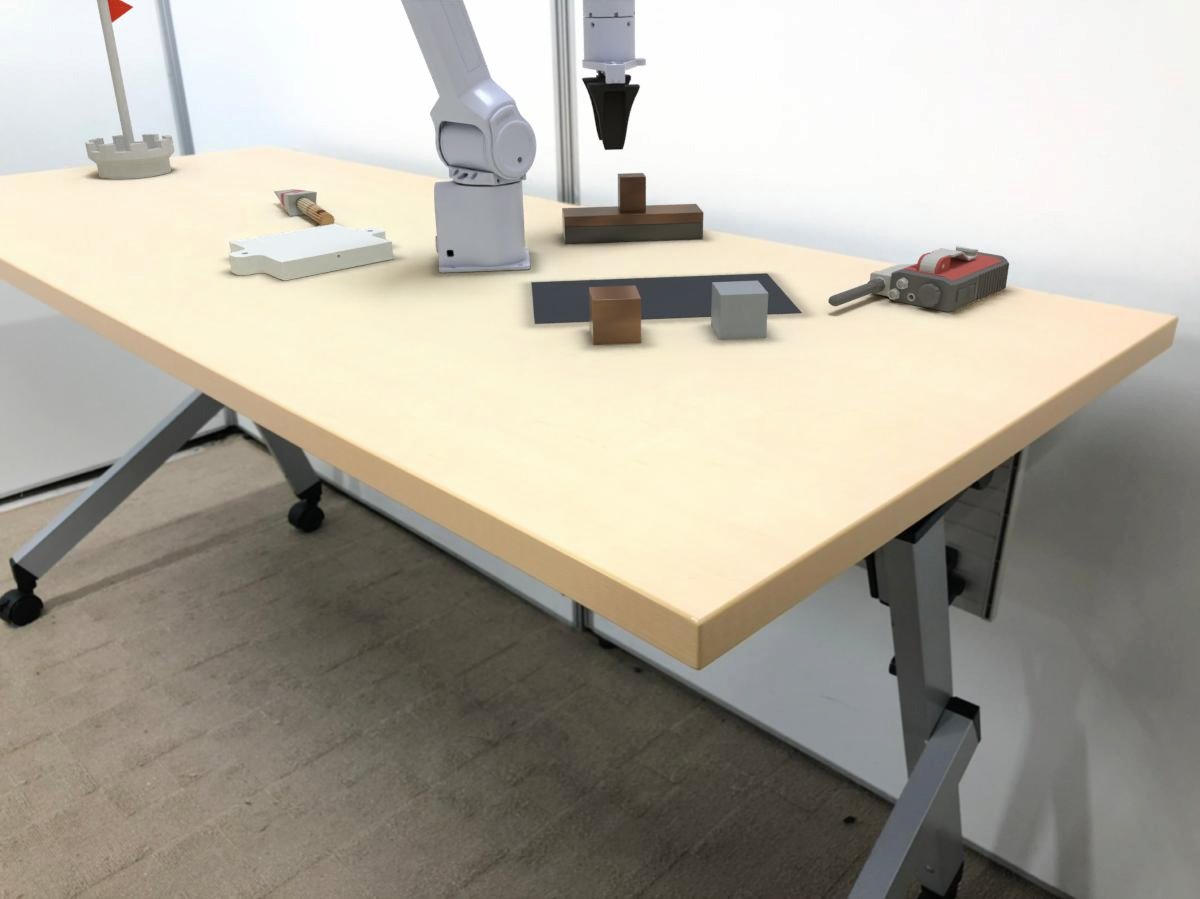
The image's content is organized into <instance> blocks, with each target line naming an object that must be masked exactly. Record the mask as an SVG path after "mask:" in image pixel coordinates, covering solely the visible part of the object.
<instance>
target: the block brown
mask: <svg viewBox="0 0 1200 899" xmlns="http://www.w3.org/2000/svg"><path fill="white" fill-rule="evenodd" d="M589 316H590V322H589V333H590V337H591V341H592V342H591V343H592V345H593V346H601V345H602V346H603V345H625V344H628V345H629V344H641V343H642V320H641V297H640V295H639V293H638V290H637V288H636V286H608V287H589Z"/></svg>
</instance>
